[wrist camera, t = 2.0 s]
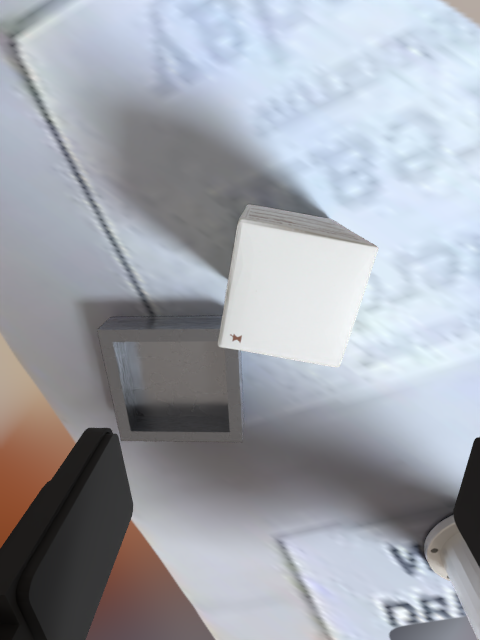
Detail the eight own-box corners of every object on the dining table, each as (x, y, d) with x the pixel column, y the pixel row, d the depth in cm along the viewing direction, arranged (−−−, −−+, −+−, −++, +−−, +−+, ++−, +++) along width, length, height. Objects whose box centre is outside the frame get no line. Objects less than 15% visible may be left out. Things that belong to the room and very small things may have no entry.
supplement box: (311, 300, 31) (339, 374, 20) (231, 284, 31) (212, 349, 20) (334, 217, 28) (384, 246, 17) (246, 199, 28) (235, 217, 17)
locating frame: (239, 315, 32) (237, 328, 29) (243, 422, 37) (242, 442, 34) (110, 317, 33) (97, 329, 30) (131, 421, 38) (121, 440, 35)
